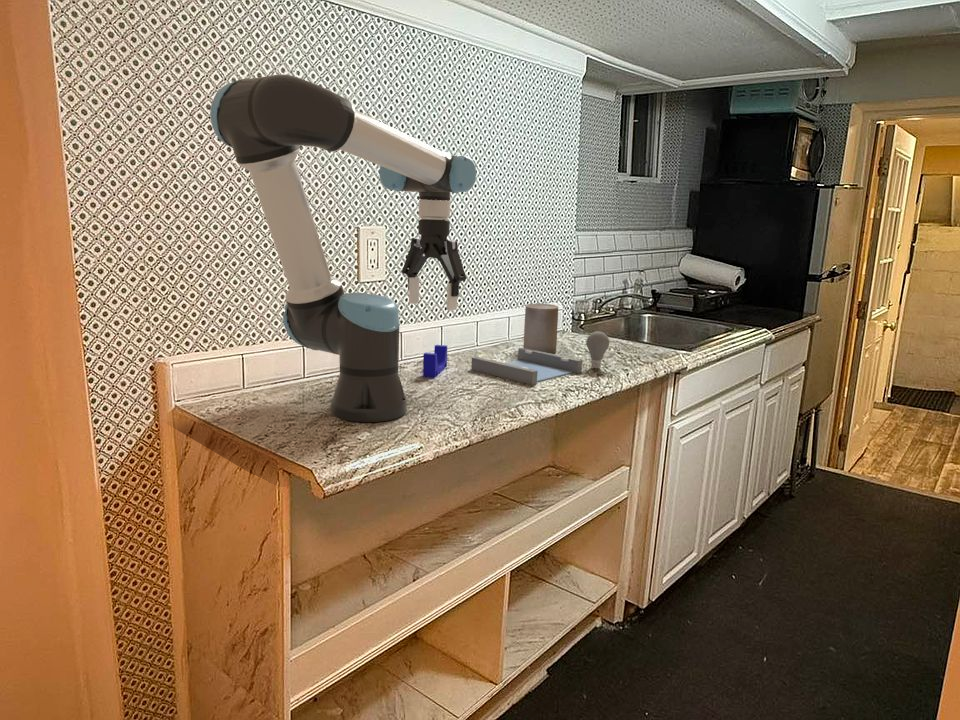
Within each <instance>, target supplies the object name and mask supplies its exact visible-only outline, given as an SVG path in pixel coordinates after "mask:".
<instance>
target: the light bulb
mask: <svg viewBox="0 0 960 720" xmlns="http://www.w3.org/2000/svg"><path fill="white" fill-rule="evenodd" d="M585 343H586V347H587V350H588V351H589V355H590V360H591V362H590V363H591V365H590V367H591V368H592V369H596V370H597V369H600V368H601V367H602V360H603V358H604V355H605V353H606V352H607V350H608V348H609V346H610V339H609V337H608V335H607V334H606V333H605V332H603V331H598V330H597V331H594V332H593V331H592V332H591V333H590V334H589V335H588V336H587V338H586V342H585Z"/></svg>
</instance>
